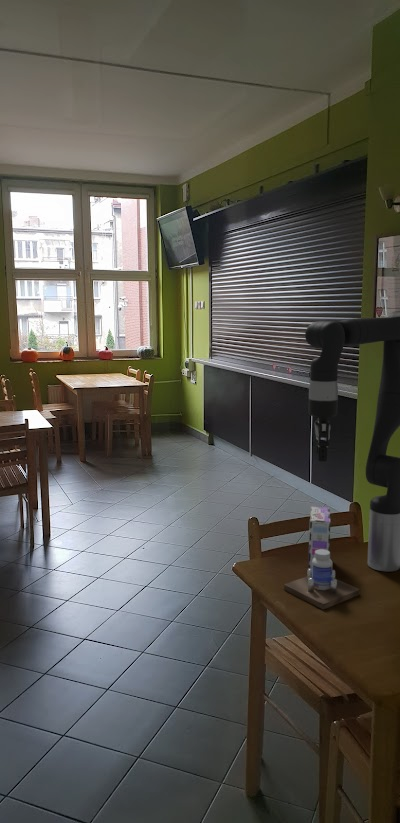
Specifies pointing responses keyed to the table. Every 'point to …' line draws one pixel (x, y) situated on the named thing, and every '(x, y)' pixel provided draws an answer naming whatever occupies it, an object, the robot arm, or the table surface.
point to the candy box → (318, 531)
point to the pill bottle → (322, 569)
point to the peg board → (321, 593)
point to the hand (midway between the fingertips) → (321, 457)
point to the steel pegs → (311, 582)
